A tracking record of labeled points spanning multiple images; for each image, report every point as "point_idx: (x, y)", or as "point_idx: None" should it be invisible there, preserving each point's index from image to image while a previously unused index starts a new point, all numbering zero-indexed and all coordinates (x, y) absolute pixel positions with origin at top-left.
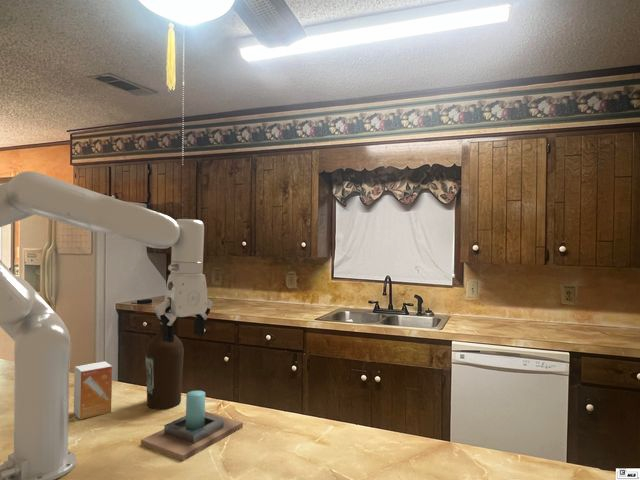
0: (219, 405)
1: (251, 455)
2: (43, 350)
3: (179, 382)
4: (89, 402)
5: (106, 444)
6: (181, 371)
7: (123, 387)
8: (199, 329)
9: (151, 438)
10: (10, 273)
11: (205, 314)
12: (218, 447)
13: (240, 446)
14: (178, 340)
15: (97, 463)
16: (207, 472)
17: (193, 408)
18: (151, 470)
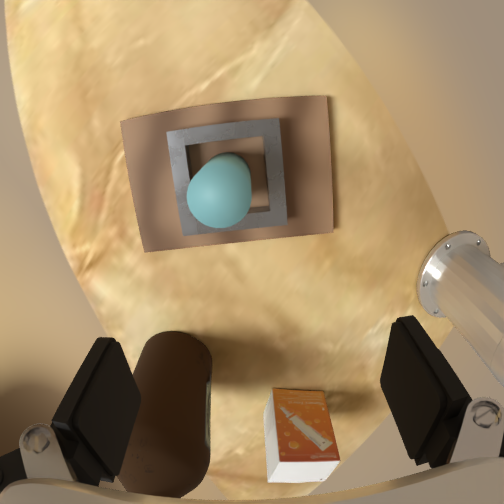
0: (92, 263)
1: (212, 3)
2: None
3: (146, 366)
4: (313, 410)
5: (362, 281)
6: None
7: None
8: (114, 388)
9: (317, 219)
10: None
11: (28, 461)
12: (232, 80)
13: (197, 47)
14: None
15: (412, 227)
16: (319, 25)
17: (244, 170)
18: (380, 121)
